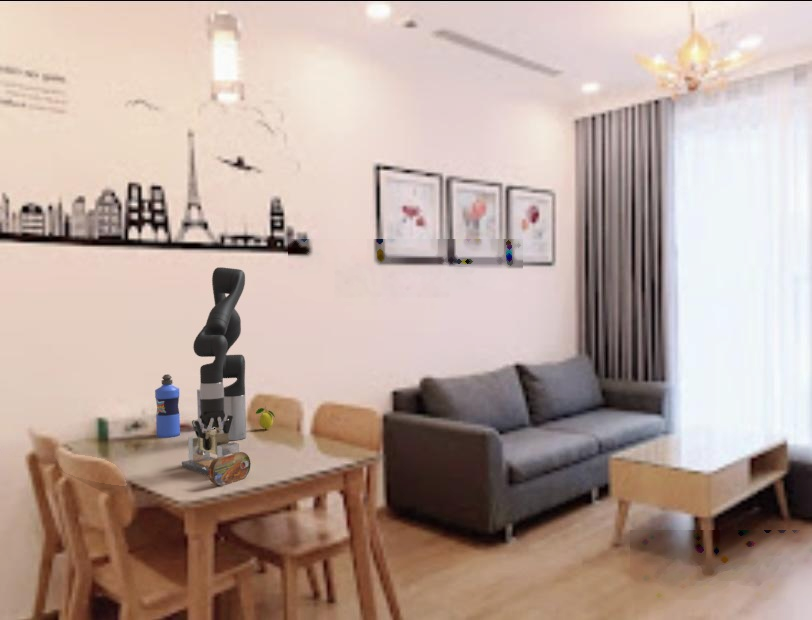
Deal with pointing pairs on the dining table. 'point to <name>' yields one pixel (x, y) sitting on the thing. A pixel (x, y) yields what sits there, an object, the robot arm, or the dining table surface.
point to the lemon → (265, 418)
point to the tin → (229, 468)
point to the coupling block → (214, 441)
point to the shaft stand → (205, 455)
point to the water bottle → (167, 409)
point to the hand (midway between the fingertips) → (213, 448)
